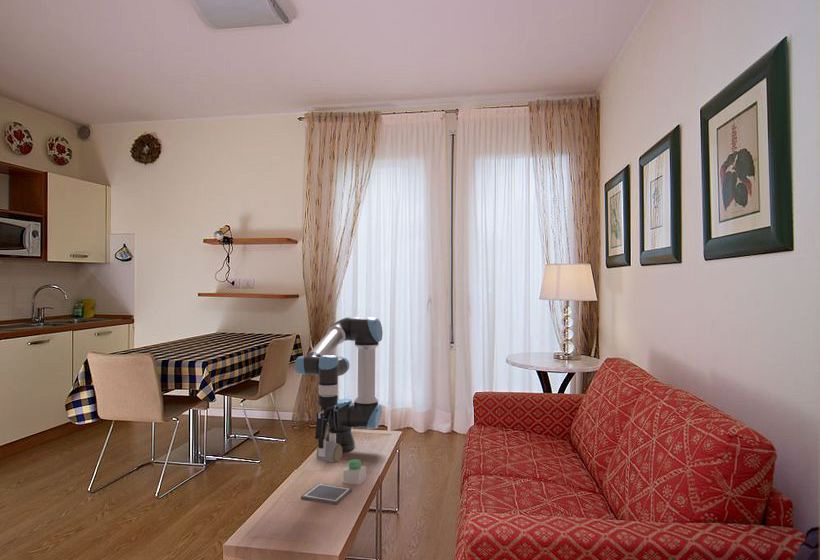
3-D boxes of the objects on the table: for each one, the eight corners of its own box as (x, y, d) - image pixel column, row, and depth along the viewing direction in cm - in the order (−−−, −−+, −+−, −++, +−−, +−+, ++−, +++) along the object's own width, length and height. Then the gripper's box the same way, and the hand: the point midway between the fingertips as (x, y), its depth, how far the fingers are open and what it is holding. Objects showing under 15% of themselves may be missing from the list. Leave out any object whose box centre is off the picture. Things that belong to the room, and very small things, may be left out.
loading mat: (318, 485, 194) (318, 483, 194) (352, 490, 189) (352, 488, 189) (300, 498, 182) (301, 496, 182) (336, 504, 177) (336, 502, 177)
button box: (350, 476, 204) (350, 464, 204) (365, 478, 202) (366, 466, 202) (343, 482, 197) (343, 470, 197) (358, 484, 195) (358, 472, 195)
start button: (351, 463, 203) (351, 458, 203) (362, 464, 201) (362, 460, 201) (346, 467, 198) (346, 462, 198) (357, 469, 196) (357, 464, 196)
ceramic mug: (334, 465, 186) (334, 445, 187) (315, 463, 189) (316, 443, 189) (347, 457, 196) (347, 438, 197) (329, 455, 199) (329, 436, 199)
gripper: (332, 389, 204) (331, 444, 203) (306, 399, 184) (305, 459, 183) (348, 390, 201) (347, 446, 200) (323, 400, 182) (322, 462, 181)
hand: (327, 452), depth 192 cm, fingers closed on ceramic mug, 8 cm apart
